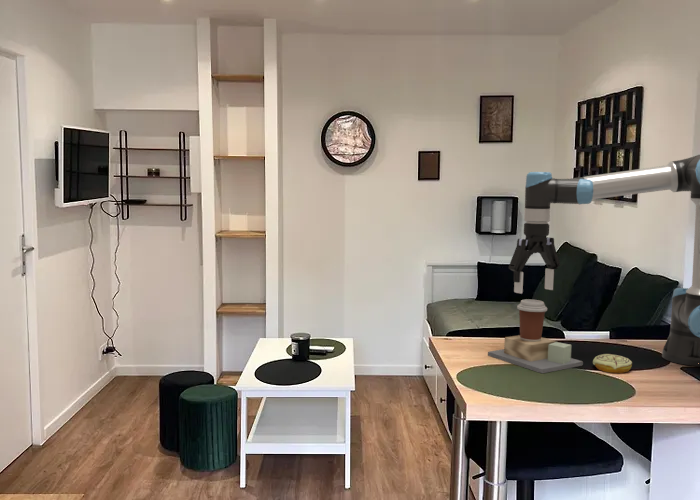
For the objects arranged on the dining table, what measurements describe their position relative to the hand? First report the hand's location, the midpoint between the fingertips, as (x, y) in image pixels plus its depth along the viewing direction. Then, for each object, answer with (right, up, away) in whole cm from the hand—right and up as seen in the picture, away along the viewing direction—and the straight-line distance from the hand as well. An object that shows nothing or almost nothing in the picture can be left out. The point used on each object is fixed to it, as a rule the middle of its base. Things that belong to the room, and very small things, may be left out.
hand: (533, 291), depth 203 cm
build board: (0, -21, +1) cm, 21 cm away
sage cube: (+7, -21, -4) cm, 22 cm away
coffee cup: (-1, -15, +2) cm, 15 cm away
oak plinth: (-1, -20, +2) cm, 20 cm away
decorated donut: (+22, -23, -7) cm, 32 cm away
